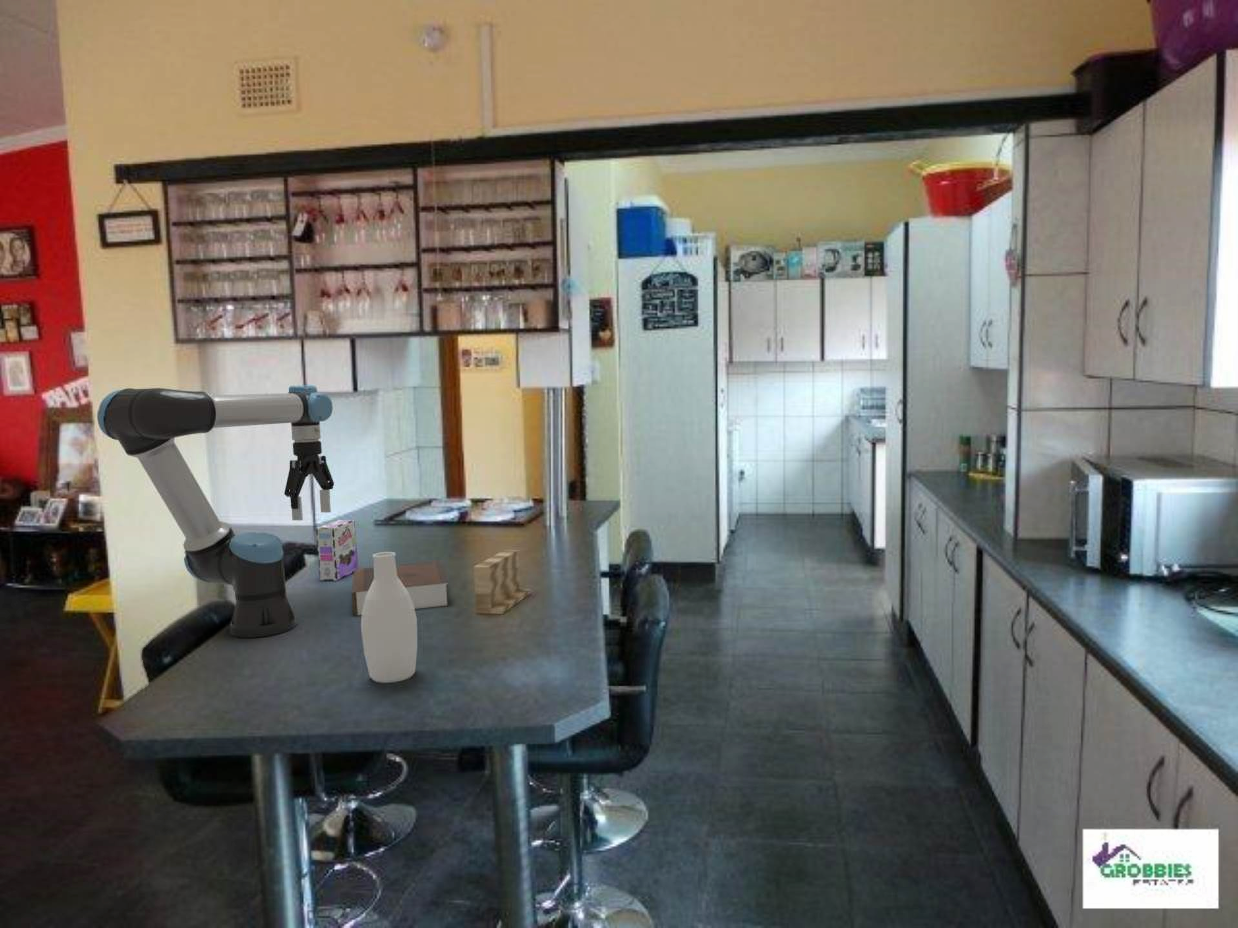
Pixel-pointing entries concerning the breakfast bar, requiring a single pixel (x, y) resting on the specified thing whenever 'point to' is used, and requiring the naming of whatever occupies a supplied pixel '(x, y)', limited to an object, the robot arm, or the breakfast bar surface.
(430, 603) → the book
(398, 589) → the bottle
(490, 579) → the bookend
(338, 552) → the candy box
